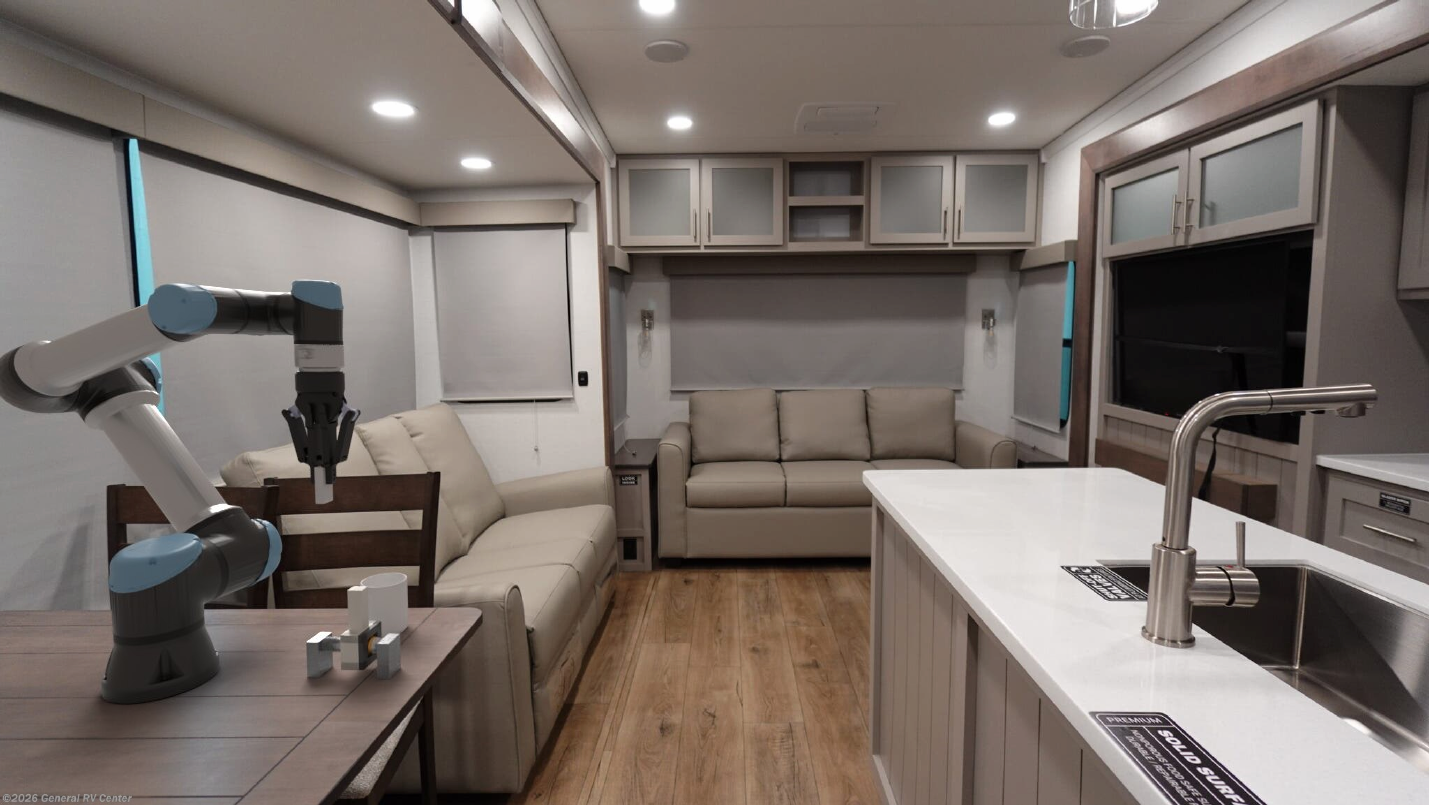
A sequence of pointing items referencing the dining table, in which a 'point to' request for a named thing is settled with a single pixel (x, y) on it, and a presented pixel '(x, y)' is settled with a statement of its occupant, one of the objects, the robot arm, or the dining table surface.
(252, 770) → the dining table surface
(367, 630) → the sleeve
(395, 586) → the mug
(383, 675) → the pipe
